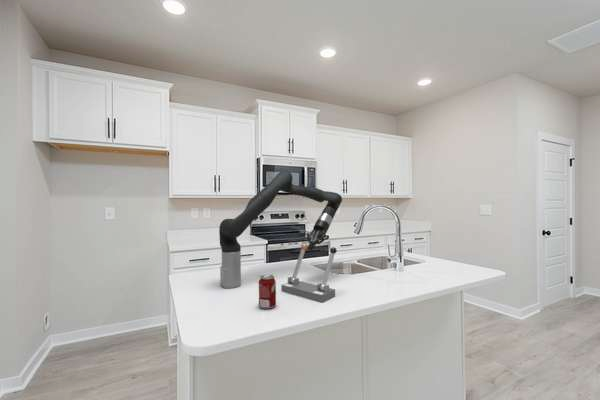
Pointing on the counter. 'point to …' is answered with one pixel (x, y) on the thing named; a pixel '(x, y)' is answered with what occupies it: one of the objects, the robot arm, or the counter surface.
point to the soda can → (267, 292)
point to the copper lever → (298, 263)
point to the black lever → (328, 268)
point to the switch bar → (308, 290)
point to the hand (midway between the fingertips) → (309, 249)
